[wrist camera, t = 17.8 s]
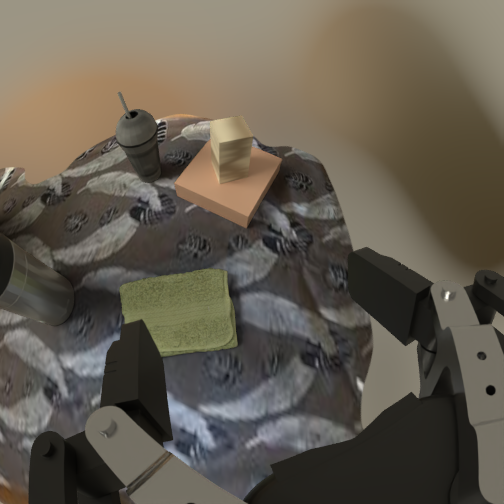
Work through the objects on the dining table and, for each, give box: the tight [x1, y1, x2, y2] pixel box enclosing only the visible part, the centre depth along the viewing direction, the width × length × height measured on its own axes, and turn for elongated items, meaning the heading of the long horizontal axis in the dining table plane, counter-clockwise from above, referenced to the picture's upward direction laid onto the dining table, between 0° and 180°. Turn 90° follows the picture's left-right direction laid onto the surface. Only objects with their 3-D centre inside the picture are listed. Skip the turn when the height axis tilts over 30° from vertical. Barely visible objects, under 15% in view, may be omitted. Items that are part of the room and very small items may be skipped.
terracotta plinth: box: [174, 139, 282, 228], centre depth 49 cm, size 14×14×4 cm
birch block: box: [210, 115, 253, 184], centre depth 42 cm, size 5×5×10 cm
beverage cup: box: [116, 92, 161, 183], centre depth 41 cm, size 7×7×20 cm
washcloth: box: [119, 268, 238, 357], centre depth 40 cm, size 13×18×3 cm
